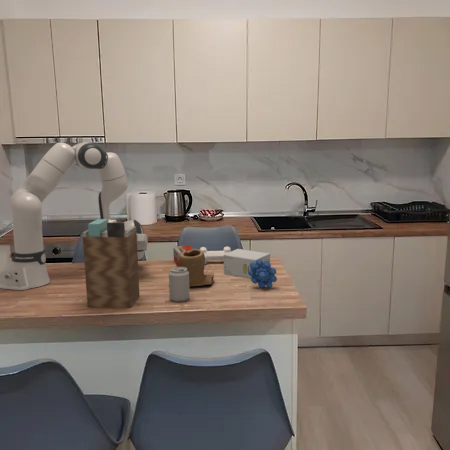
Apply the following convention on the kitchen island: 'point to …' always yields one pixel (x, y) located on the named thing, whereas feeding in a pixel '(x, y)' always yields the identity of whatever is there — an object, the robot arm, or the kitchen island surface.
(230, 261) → the supplement box
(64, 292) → the kitchen island surface
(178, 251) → the medicine box
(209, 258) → the white bone
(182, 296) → the can
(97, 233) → the teal and white bar
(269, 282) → the blue bumpy cluster
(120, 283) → the wooden desk organizer
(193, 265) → the tan boot
